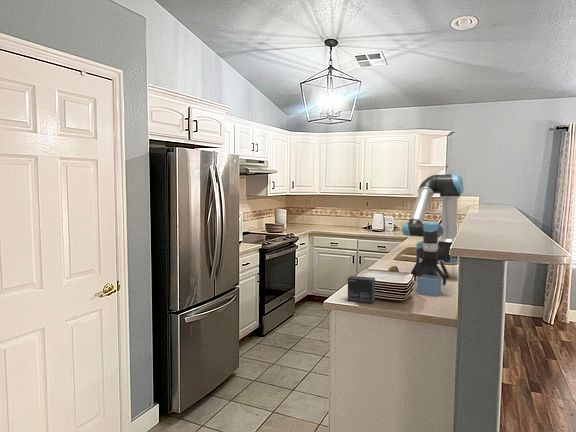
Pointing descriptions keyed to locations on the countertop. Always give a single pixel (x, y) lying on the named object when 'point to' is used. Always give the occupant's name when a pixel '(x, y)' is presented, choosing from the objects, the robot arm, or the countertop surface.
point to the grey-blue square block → (429, 285)
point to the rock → (393, 269)
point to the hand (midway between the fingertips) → (429, 289)
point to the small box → (361, 289)
